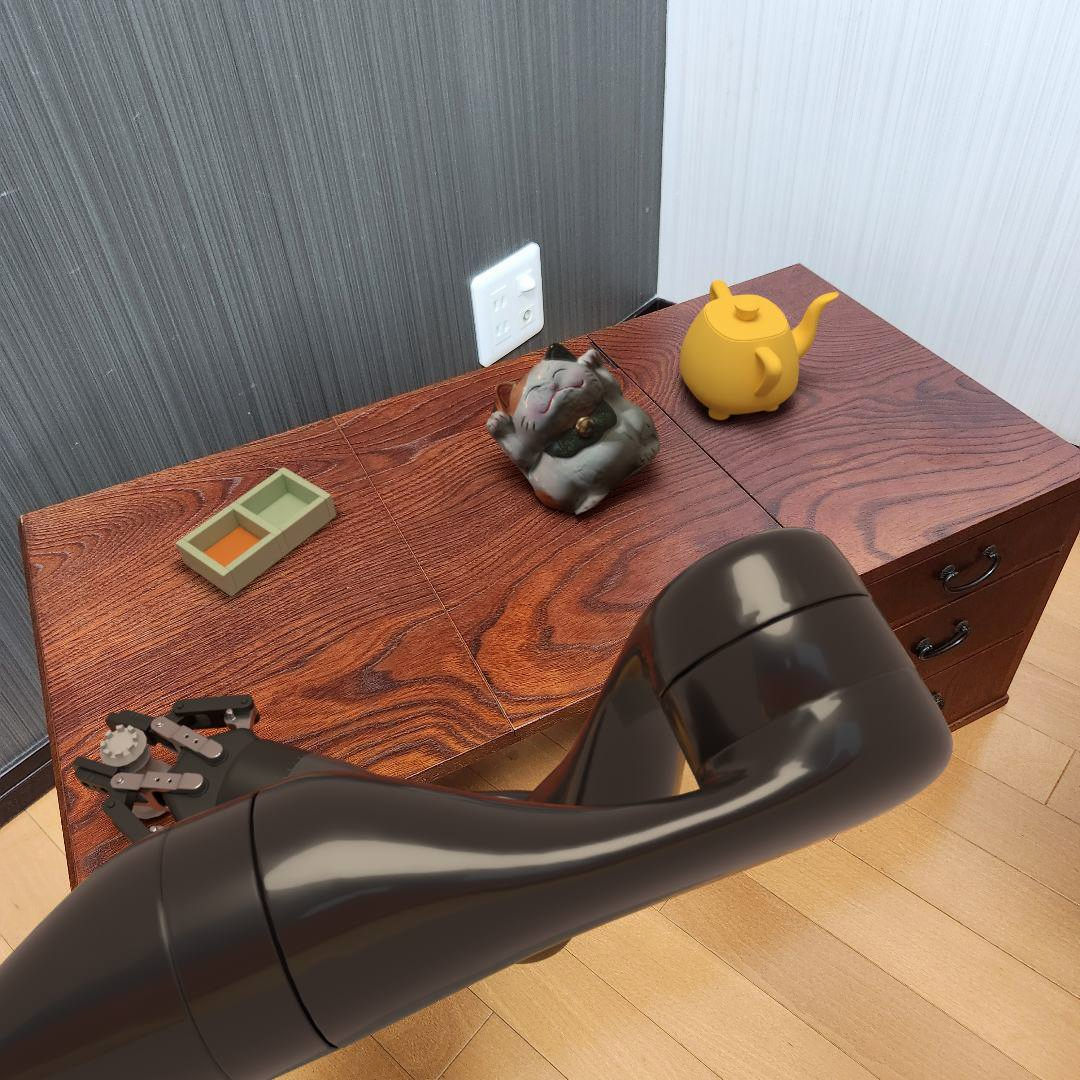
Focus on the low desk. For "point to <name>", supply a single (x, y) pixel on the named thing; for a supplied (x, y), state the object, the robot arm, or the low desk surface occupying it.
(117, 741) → the rook chess piece
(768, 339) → the teapot
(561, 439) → the lucky cat figurine
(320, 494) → the socket pad
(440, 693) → the low desk surface
